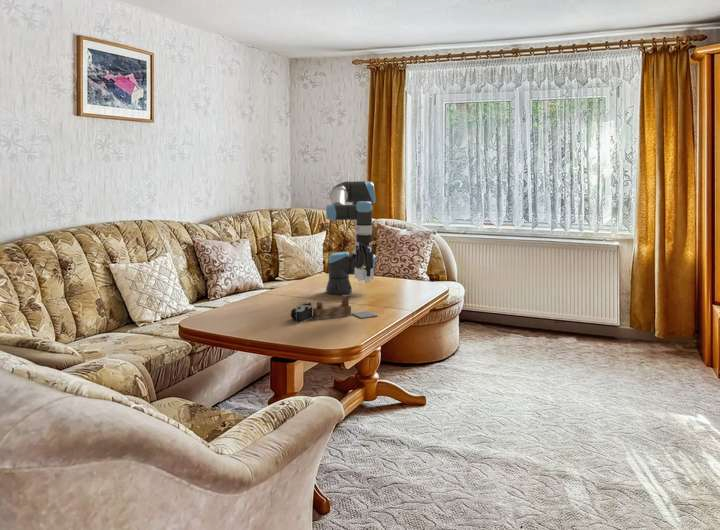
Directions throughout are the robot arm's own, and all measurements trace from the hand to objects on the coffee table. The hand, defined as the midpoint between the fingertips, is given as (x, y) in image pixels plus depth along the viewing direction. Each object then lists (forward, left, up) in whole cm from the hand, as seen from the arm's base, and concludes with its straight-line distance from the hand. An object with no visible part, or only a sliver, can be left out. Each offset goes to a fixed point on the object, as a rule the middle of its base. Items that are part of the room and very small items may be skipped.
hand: (364, 281), depth 278 cm
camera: (-7, -30, -17) cm, 35 cm away
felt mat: (0, 0, -17) cm, 17 cm away
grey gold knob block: (0, 0, +2) cm, 2 cm away
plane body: (-6, -14, -17) cm, 23 cm away
